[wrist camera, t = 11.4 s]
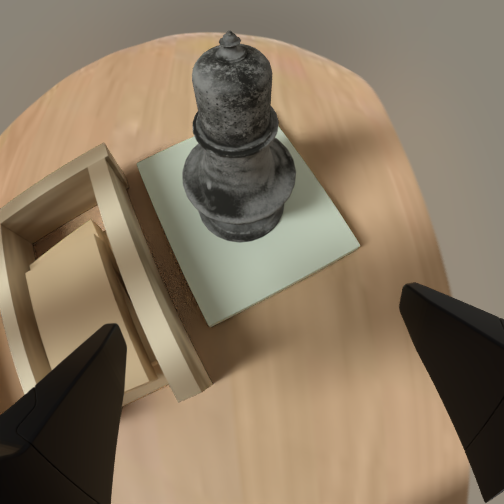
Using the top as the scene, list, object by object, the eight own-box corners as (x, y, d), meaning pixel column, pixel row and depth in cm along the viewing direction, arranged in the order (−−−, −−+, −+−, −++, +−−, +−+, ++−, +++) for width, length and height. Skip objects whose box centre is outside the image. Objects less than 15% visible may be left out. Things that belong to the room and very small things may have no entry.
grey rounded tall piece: (273, 153, 21) (288, -11, 9) (301, 234, 19) (358, 77, 7) (186, 173, 20) (135, 14, 9) (203, 258, 18) (137, 115, 7)
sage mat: (356, 249, 19) (360, 245, 19) (210, 327, 18) (208, 326, 17) (264, 115, 23) (264, 108, 22) (139, 169, 21) (136, 163, 21)
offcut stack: (186, 375, 17) (166, 382, 13) (109, 412, 17) (73, 424, 12) (118, 232, 20) (88, 202, 16) (52, 272, 19) (14, 253, 15)
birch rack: (216, 382, 17) (206, 390, 13) (3, 459, 14) (-30, 468, 11) (124, 174, 21) (104, 142, 17) (-45, 286, 19) (-75, 274, 15)
